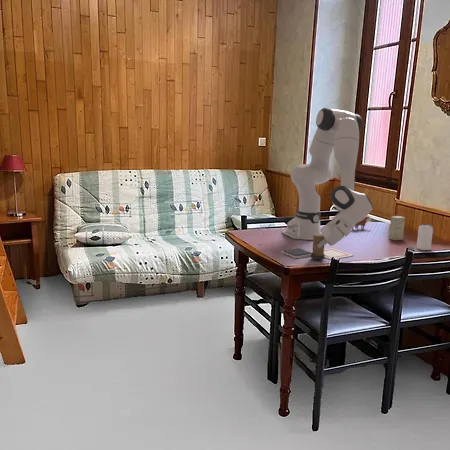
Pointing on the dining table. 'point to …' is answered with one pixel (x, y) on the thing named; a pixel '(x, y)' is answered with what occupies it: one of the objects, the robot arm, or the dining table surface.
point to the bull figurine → (362, 222)
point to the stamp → (317, 252)
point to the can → (424, 237)
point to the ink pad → (297, 253)
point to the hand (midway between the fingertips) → (317, 244)
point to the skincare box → (396, 228)
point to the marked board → (335, 253)
